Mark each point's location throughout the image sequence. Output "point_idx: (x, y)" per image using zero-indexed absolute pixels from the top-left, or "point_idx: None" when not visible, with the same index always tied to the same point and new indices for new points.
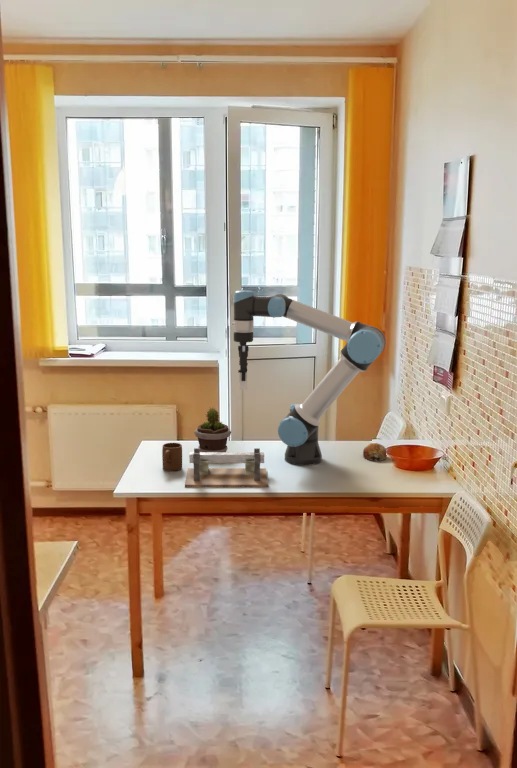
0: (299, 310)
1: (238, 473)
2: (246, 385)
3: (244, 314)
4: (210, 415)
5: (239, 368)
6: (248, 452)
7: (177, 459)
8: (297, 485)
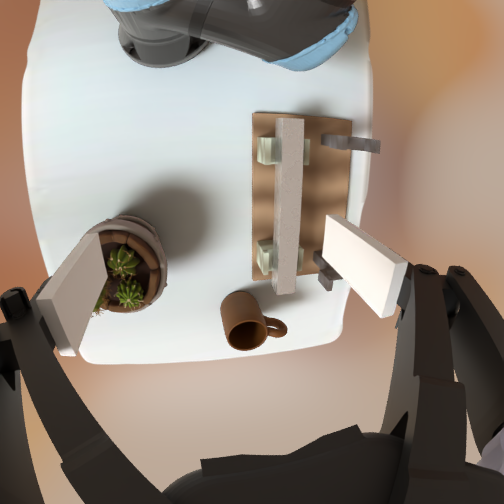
0: None
1: None
2: (349, 224)
3: None
4: (101, 301)
5: (80, 339)
6: (283, 158)
7: (259, 308)
8: (339, 65)
